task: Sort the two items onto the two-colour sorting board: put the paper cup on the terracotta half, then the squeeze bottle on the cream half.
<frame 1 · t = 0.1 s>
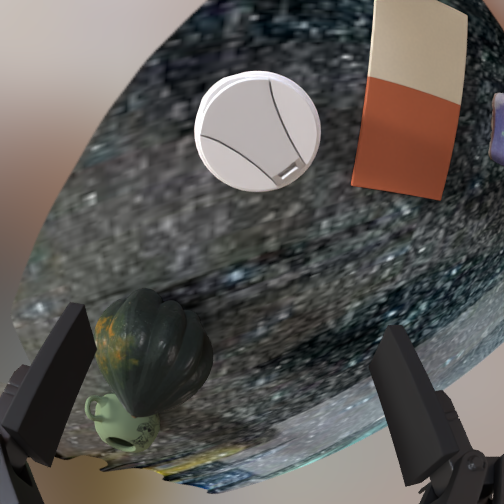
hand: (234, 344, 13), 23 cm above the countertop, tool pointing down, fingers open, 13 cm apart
flask: (496, 126, 29), on the countertop
sorting board: (416, 90, 27), on the countertop
mug: (125, 402, 52), on the countertop
paper cup: (253, 115, 30), on the countertop
squash: (162, 321, 42), on the countertop
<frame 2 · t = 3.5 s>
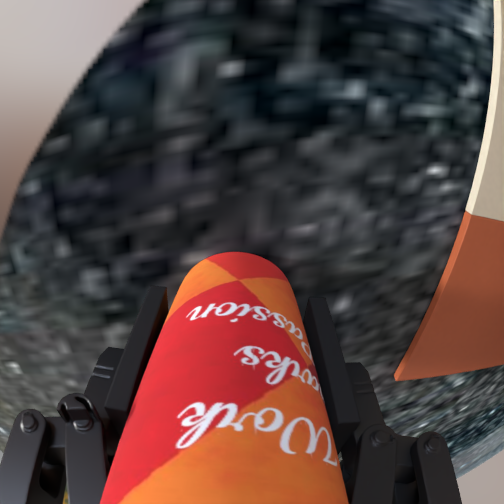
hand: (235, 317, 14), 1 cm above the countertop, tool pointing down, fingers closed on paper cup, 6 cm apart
paper cup: (235, 297, 16), on the countertop, touching gripper
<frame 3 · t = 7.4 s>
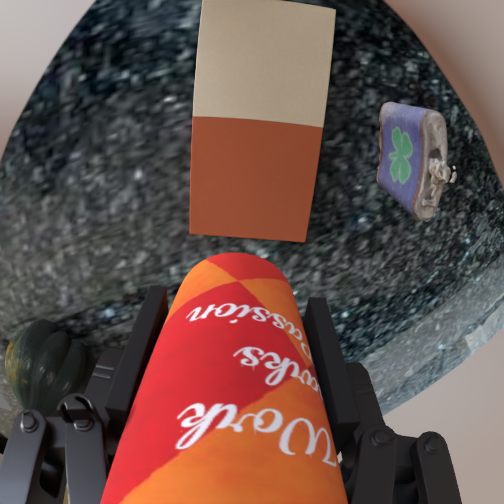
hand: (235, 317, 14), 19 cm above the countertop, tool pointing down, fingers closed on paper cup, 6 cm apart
flask: (388, 145, 29), on the countertop
sorting board: (258, 119, 28), on the countertop
paper cup: (235, 298, 16), point 17 cm above the countertop, touching gripper
squash: (66, 345, 42), on the countertop
when the fingers open (2 cm above the countertop, at t = 11.5 s): paper cup stays where it is, resting on sorting board.
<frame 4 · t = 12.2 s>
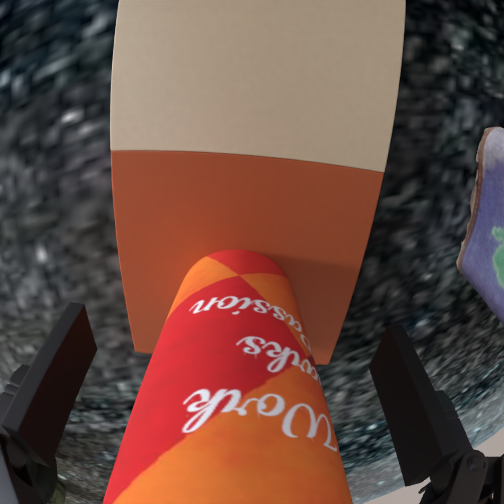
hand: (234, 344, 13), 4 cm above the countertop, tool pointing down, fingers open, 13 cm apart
flask: (482, 204, 14), on the countertop
sorting board: (248, 152, 13), on the countertop
mug: (33, 470, 38), on the countertop
paper cup: (235, 294, 16), resting on sorting board
squash: (20, 426, 28), on the countertop
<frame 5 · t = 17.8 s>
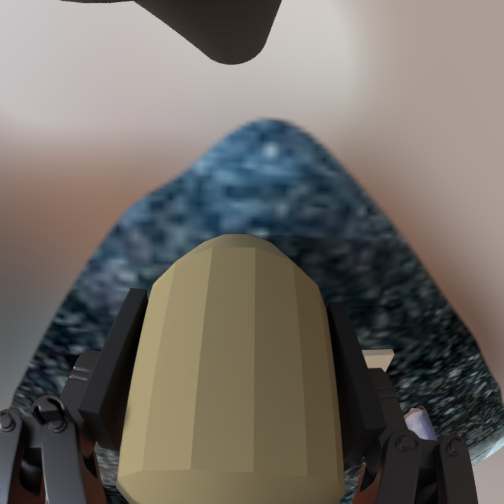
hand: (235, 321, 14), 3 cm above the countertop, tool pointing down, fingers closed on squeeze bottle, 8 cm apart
flask: (404, 427, 27), on the countertop
sorting board: (281, 436, 25), on the countertop
squeeze bottle: (238, 279, 17), on the countertop, touching gripper
squash: (102, 491, 40), on the countertop
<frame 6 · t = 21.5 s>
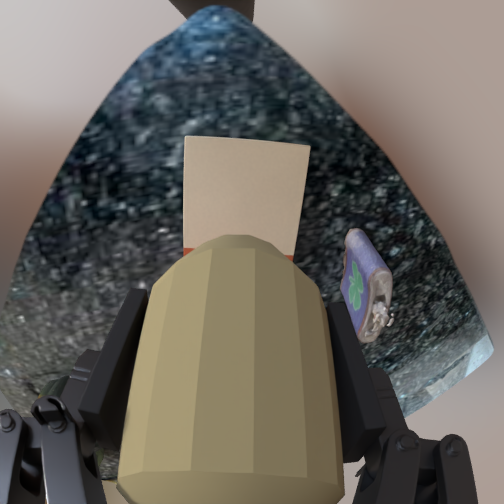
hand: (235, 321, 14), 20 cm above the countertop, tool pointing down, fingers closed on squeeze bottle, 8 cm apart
flask: (352, 261, 36), on the countertop
sorting board: (238, 249, 35), on the countertop
squeeze bottle: (237, 279, 17), point 17 cm above the countertop, touching gripper
squash: (86, 392, 50), on the countertop
when the fingers open (4 cm above the countertop, at t = 25.5 s): squeeze bottle stays where it is, resting on sorting board.
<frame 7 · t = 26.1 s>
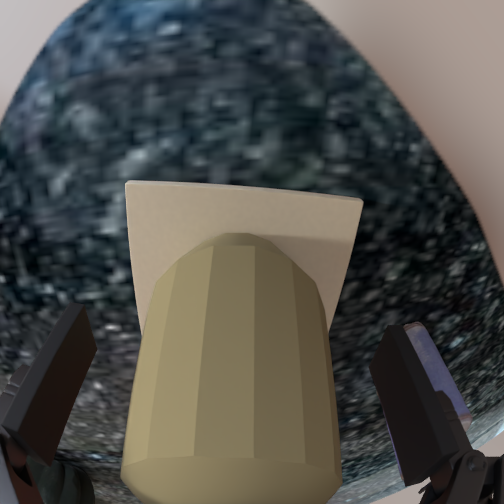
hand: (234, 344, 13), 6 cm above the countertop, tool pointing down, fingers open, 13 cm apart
flask: (399, 361, 22), on the countertop
sorting board: (231, 357, 21), on the countertop
squeeze bottle: (238, 277, 18), resting on sorting board
squash: (60, 461, 36), on the countertop
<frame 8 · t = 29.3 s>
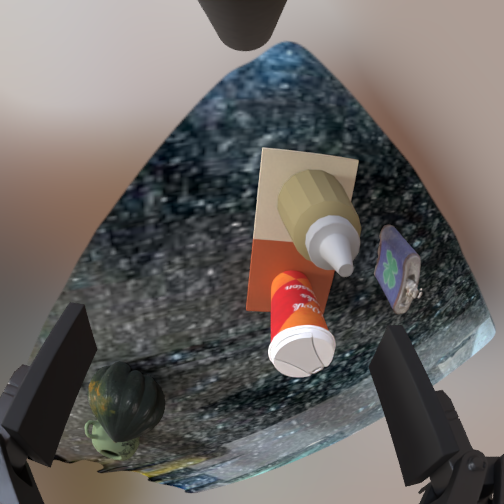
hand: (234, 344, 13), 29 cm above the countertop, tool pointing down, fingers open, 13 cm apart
flask: (384, 251, 44), on the countertop
sorting board: (297, 240, 43), on the countertop
squeeze bottle: (306, 192, 39), resting on sorting board
mug: (114, 424, 68), on the countertop
paper cup: (290, 285, 46), resting on sorting board
squash: (133, 377, 57), on the countertop
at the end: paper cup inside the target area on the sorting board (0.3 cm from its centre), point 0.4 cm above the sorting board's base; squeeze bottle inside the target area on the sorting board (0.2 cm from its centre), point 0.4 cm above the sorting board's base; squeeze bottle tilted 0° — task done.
